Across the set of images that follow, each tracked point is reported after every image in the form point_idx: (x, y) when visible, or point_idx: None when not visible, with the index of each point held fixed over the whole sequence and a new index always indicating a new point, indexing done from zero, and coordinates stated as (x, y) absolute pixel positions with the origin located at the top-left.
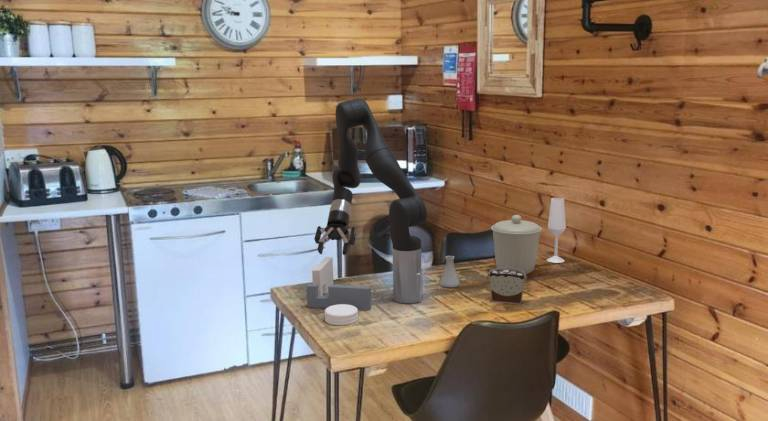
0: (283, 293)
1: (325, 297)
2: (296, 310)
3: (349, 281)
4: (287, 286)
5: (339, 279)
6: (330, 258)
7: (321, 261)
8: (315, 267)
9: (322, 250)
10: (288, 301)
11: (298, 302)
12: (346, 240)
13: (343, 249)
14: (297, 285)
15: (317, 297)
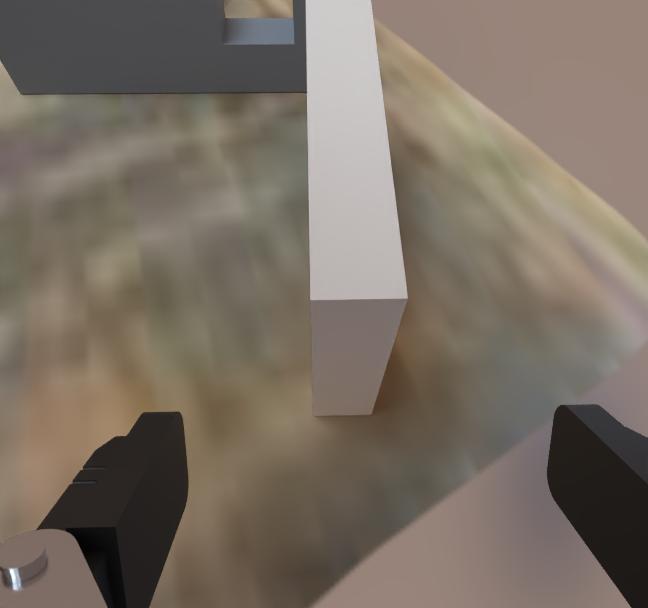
0: (575, 211)
1: (247, 28)
2: (377, 36)
3: (196, 550)
4: (643, 336)
5: (306, 603)
6: (322, 252)
7: (384, 143)
8: (367, 8)
9: (582, 521)
10: (472, 114)
11: (414, 109)
12: (12, 591)
13: (152, 432)
14: (587, 368)
15: (289, 24)
